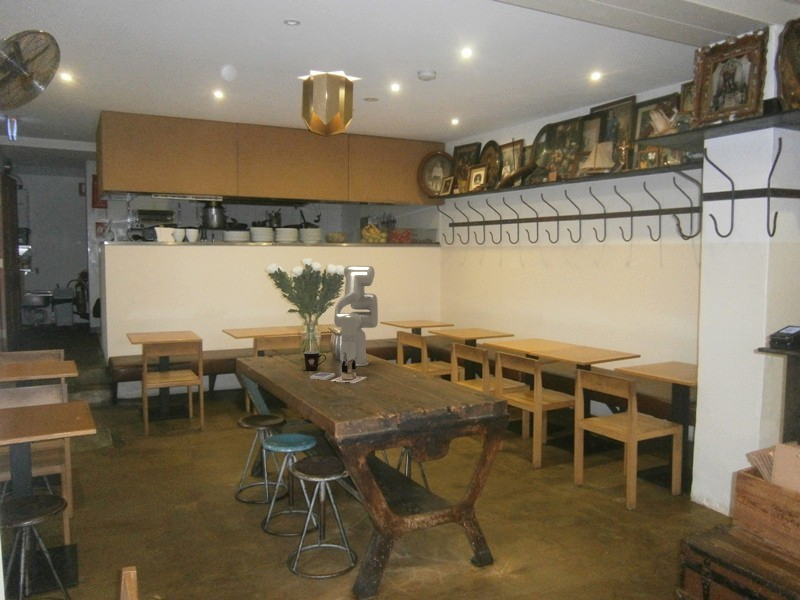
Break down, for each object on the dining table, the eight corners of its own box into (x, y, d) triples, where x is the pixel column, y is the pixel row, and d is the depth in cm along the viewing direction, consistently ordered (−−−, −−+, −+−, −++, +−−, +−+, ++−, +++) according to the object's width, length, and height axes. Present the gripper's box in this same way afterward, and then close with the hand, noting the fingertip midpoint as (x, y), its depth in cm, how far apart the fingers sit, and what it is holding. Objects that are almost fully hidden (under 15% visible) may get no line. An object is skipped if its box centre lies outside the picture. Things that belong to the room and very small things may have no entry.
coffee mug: (301, 370, 348) (301, 353, 347) (308, 368, 356) (308, 350, 355) (320, 372, 344) (319, 354, 344) (326, 369, 352) (326, 352, 352)
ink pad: (320, 374, 337) (320, 372, 337) (335, 376, 334) (335, 373, 334) (310, 378, 327) (310, 375, 327) (325, 380, 324) (325, 377, 324)
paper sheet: (343, 375, 335) (343, 375, 335) (366, 377, 330) (366, 376, 330) (330, 381, 321) (330, 380, 321) (354, 383, 316) (354, 382, 316)
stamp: (346, 377, 329) (346, 355, 328) (356, 378, 328) (355, 356, 327) (341, 379, 323) (341, 357, 323) (350, 380, 322) (350, 357, 321)
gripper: (349, 336, 333) (349, 367, 335) (334, 340, 317) (334, 373, 318) (361, 336, 331) (362, 368, 332) (347, 341, 314) (348, 374, 316)
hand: (348, 370), depth 325 cm, fingers open, 9 cm apart
